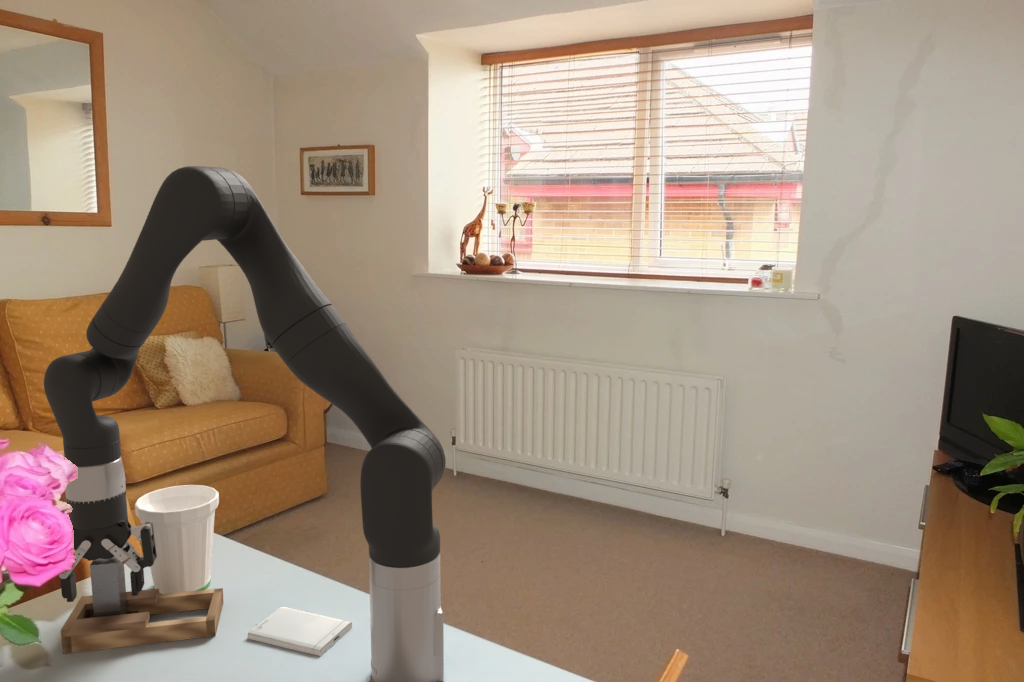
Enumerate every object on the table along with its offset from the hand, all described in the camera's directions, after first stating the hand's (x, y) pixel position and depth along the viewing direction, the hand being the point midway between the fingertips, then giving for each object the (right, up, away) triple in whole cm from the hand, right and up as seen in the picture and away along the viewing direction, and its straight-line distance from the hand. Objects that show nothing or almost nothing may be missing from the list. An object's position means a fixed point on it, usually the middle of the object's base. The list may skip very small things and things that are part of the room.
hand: (104, 596), depth 110 cm
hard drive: (+28, -6, +1) cm, 29 cm away
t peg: (+1, -5, +1) cm, 6 cm away
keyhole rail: (+5, -5, +2) cm, 8 cm away
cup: (+5, -3, +15) cm, 16 cm away
